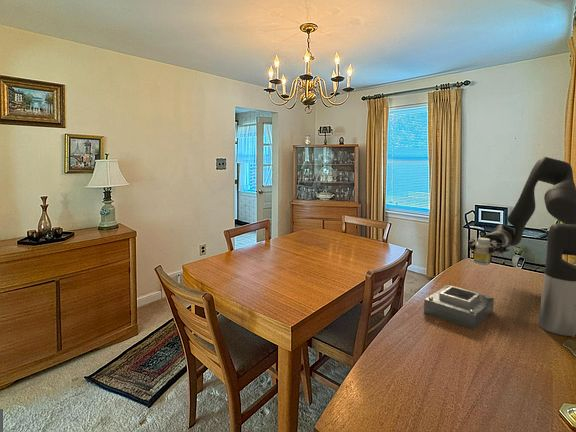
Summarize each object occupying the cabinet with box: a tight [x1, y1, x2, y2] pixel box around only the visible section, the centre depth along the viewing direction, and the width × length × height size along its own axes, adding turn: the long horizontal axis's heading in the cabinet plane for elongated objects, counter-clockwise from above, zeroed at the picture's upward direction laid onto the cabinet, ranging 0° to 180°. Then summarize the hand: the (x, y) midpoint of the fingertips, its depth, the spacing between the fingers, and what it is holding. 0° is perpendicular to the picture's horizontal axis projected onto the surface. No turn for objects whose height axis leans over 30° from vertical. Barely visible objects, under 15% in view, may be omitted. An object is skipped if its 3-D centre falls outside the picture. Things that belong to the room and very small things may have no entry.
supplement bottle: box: [473, 237, 492, 266], centre depth 121 cm, size 5×5×10 cm
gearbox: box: [423, 284, 495, 331], centre depth 110 cm, size 16×18×7 cm
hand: (480, 249), depth 119 cm, fingers closed on supplement bottle, 5 cm apart
